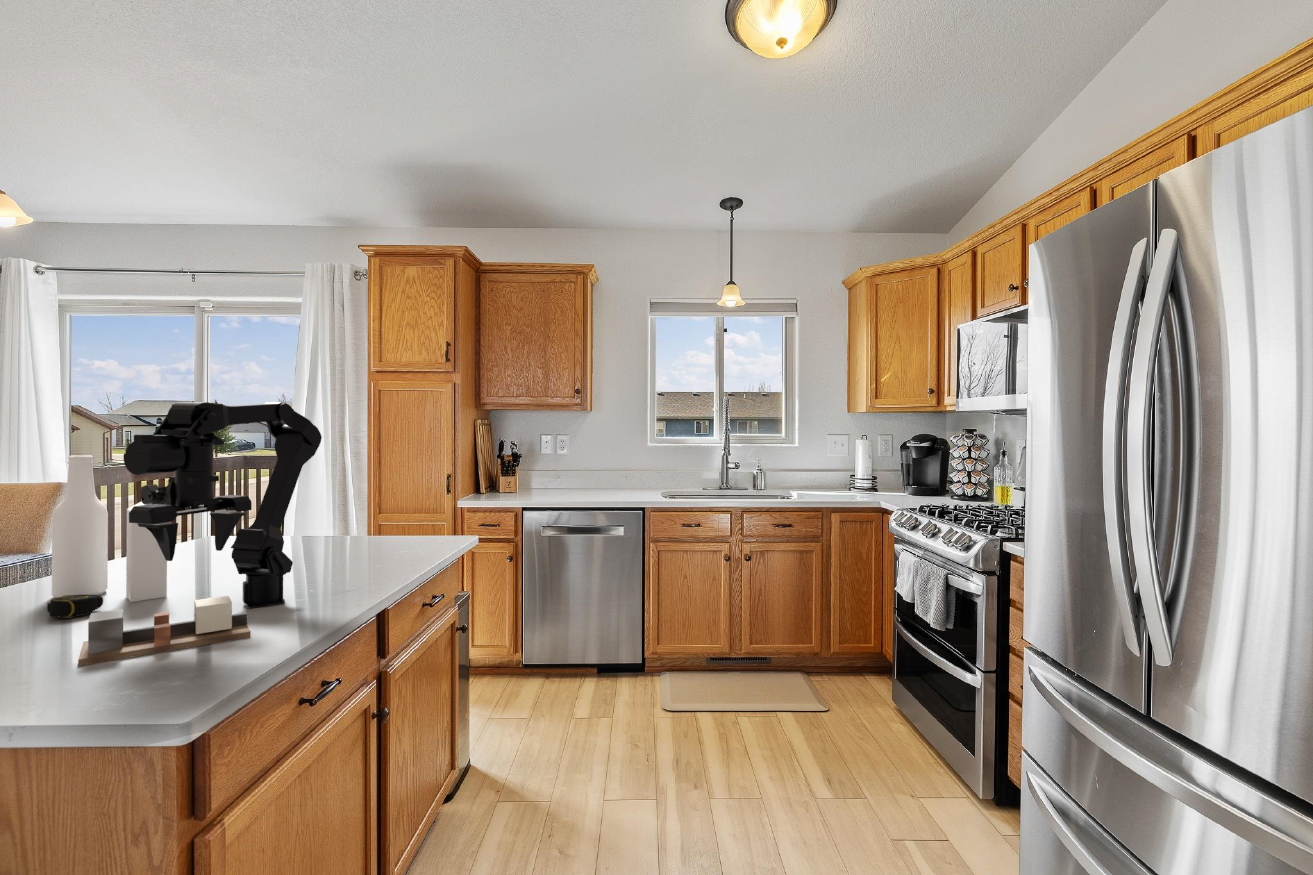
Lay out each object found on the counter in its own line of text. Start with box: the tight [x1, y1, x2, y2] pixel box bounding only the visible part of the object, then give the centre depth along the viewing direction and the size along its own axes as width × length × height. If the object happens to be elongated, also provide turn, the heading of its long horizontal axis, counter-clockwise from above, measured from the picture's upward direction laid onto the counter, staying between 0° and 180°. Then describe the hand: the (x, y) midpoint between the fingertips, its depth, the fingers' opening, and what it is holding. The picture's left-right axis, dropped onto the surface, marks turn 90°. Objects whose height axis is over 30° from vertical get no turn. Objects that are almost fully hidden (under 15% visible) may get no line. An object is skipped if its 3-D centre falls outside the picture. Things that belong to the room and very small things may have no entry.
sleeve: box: [193, 595, 233, 634], centre depth 109 cm, size 5×5×5 cm
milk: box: [125, 500, 168, 603], centre depth 132 cm, size 6×6×22 cm
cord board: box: [77, 608, 251, 667], centre depth 105 cm, size 22×10×6 cm, turn 130°
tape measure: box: [46, 595, 104, 619], centre depth 119 cm, size 7×7×4 cm
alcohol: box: [51, 454, 109, 599], centre depth 133 cm, size 9×9×30 cm
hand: (195, 555), depth 114 cm, fingers open, 9 cm apart
